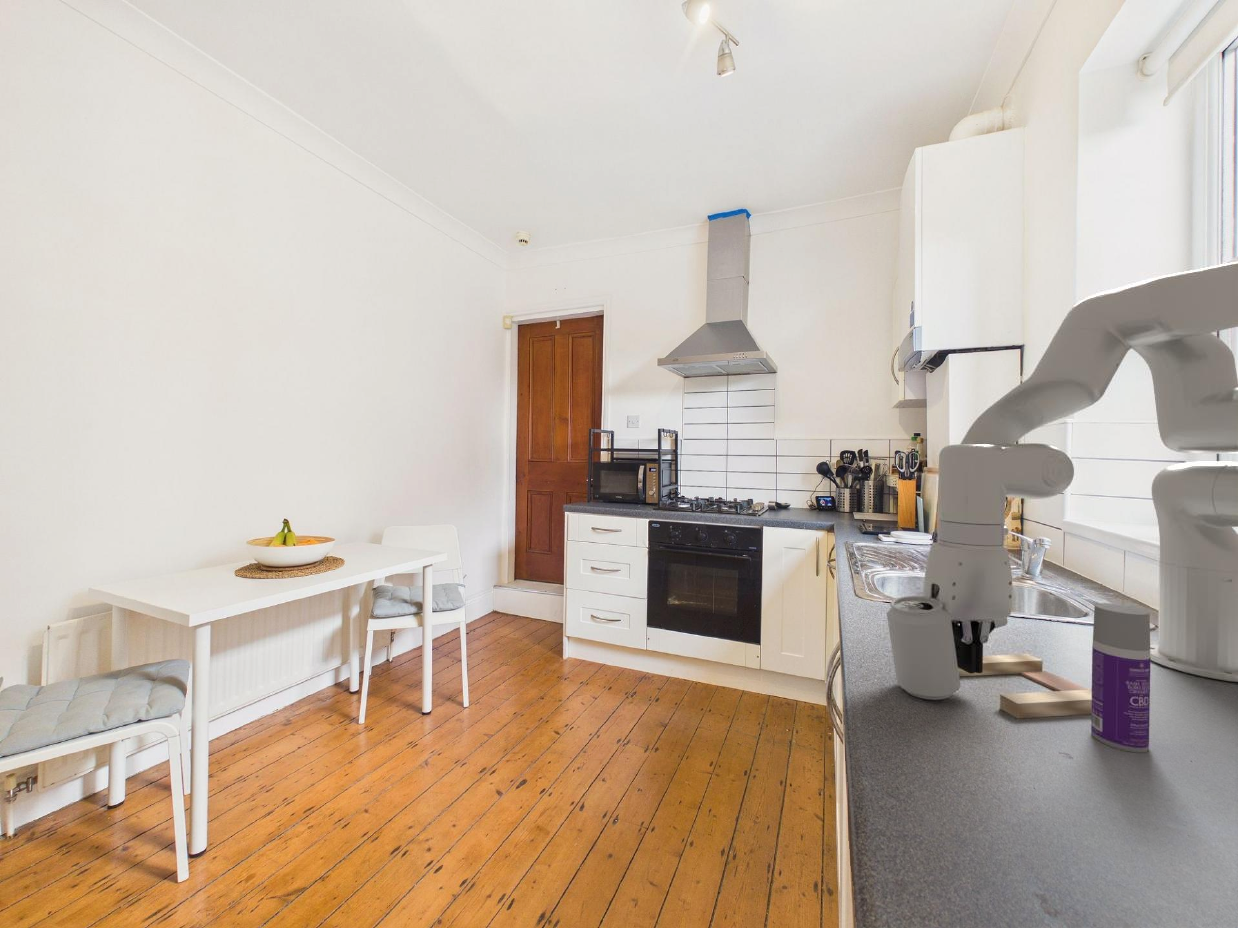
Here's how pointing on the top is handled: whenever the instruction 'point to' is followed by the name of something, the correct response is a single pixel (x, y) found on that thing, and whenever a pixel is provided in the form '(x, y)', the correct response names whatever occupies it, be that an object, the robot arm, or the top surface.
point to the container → (1121, 677)
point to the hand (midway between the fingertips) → (967, 668)
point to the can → (923, 647)
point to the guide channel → (1036, 704)
